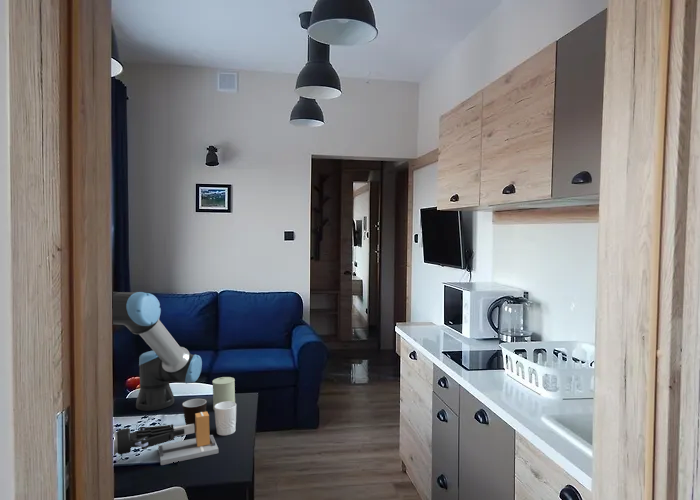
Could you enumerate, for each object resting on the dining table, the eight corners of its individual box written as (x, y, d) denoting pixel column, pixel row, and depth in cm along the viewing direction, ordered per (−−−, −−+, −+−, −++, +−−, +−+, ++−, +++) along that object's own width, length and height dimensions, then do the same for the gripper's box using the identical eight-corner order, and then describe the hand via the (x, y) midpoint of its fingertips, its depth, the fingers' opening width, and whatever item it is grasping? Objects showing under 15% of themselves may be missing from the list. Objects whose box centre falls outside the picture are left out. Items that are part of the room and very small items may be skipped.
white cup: (225, 438, 170) (224, 410, 170) (210, 433, 174) (209, 406, 174) (241, 430, 177) (240, 403, 176) (226, 425, 181) (225, 399, 181)
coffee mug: (200, 434, 173) (199, 407, 173) (178, 433, 175) (177, 406, 175) (215, 421, 185) (214, 396, 184) (195, 420, 187) (194, 395, 186)
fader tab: (196, 442, 163) (195, 412, 163) (208, 439, 165) (207, 410, 165) (197, 446, 160) (196, 417, 159) (209, 444, 162) (209, 414, 161)
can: (231, 401, 206) (231, 374, 206) (238, 408, 198) (237, 380, 198) (210, 406, 202) (209, 378, 201) (216, 413, 194) (215, 384, 193)
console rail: (158, 449, 162) (158, 442, 162) (212, 438, 170) (212, 432, 170) (160, 465, 151) (160, 457, 151) (218, 453, 159) (218, 445, 159)
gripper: (117, 445, 157) (192, 431, 167) (117, 463, 145) (197, 446, 155) (116, 423, 157) (191, 410, 167) (116, 439, 145) (196, 424, 155)
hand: (194, 428), depth 161 cm, fingers closed
